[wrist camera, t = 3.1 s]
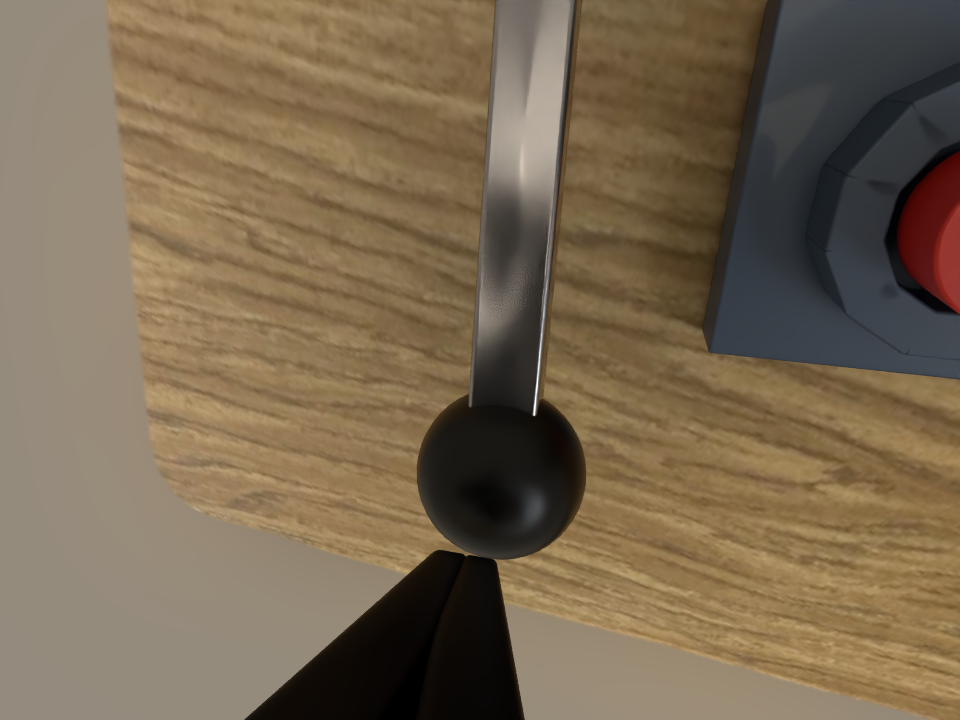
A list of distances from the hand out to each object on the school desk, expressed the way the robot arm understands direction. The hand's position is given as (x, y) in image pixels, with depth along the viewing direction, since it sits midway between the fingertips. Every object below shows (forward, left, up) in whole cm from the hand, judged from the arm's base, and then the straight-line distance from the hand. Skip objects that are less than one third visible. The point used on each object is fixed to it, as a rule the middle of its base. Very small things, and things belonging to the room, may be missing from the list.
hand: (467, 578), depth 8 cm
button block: (-9, -3, -13) cm, 16 cm away
